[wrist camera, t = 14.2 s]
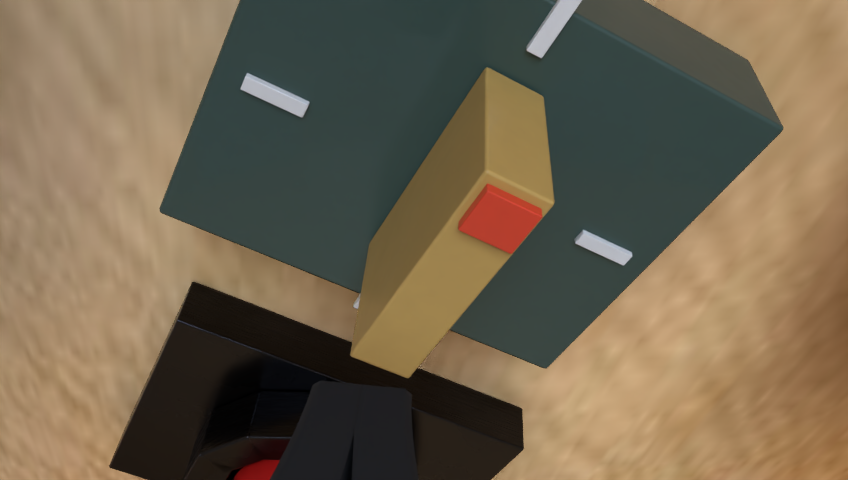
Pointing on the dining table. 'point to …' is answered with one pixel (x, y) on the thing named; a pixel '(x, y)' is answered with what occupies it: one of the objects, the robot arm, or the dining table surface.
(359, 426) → the robot arm
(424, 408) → the switch box
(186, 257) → the dining table surface
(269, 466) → the light button
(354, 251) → the panel
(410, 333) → the dimmer knob
